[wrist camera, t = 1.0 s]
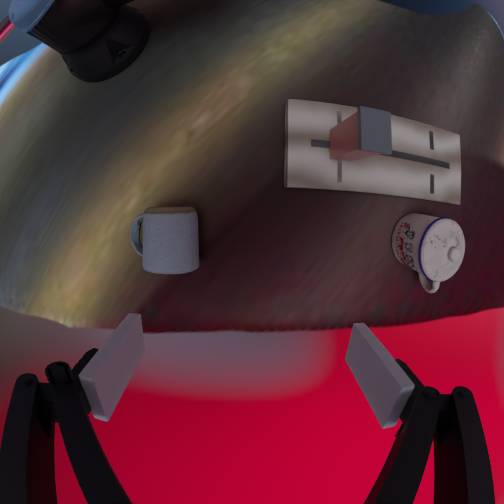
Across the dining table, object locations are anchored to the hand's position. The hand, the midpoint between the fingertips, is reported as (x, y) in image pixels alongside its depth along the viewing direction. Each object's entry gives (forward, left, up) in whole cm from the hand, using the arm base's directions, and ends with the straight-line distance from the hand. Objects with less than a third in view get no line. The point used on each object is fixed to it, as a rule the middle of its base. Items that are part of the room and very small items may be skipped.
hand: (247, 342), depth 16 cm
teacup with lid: (-1, +27, -24) cm, 36 cm away
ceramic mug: (-2, -11, -24) cm, 27 cm away
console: (-15, +20, -24) cm, 35 cm away
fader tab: (-15, +12, -21) cm, 28 cm away
